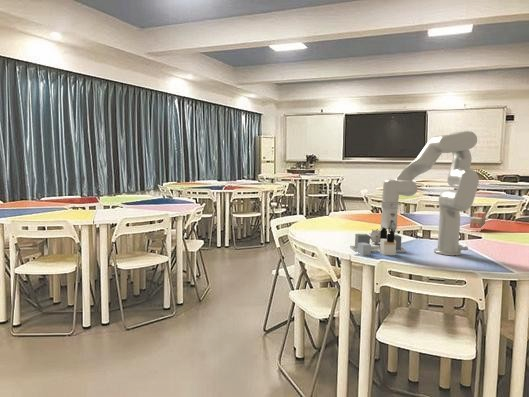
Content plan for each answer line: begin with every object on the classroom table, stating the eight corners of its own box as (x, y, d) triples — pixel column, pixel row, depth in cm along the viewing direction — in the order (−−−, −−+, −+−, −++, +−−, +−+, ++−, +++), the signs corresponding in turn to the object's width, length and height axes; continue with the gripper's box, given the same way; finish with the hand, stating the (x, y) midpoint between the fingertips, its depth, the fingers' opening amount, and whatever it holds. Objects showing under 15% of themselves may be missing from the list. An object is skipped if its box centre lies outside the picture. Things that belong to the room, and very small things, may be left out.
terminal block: (364, 252, 210) (365, 242, 210) (370, 255, 204) (371, 244, 204) (357, 252, 209) (357, 242, 209) (362, 255, 203) (363, 245, 203)
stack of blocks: (479, 232, 287) (480, 214, 286) (469, 231, 291) (470, 213, 290) (484, 229, 305) (486, 211, 303) (475, 228, 308) (476, 211, 307)
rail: (399, 248, 222) (400, 233, 222) (406, 252, 213) (406, 236, 213) (349, 247, 221) (350, 232, 220) (354, 251, 212) (355, 235, 211)
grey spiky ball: (374, 249, 237) (375, 233, 242) (388, 246, 231) (388, 230, 236) (364, 242, 232) (366, 226, 237) (378, 239, 226) (379, 223, 231)
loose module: (391, 252, 211) (392, 238, 210) (395, 255, 206) (396, 240, 205) (379, 252, 211) (380, 238, 210) (383, 255, 206) (384, 240, 205)
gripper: (404, 207, 198) (401, 244, 199) (391, 204, 215) (388, 237, 216) (388, 206, 197) (385, 243, 199) (376, 203, 215) (373, 237, 216)
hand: (386, 240), depth 208 cm, fingers open, 9 cm apart
